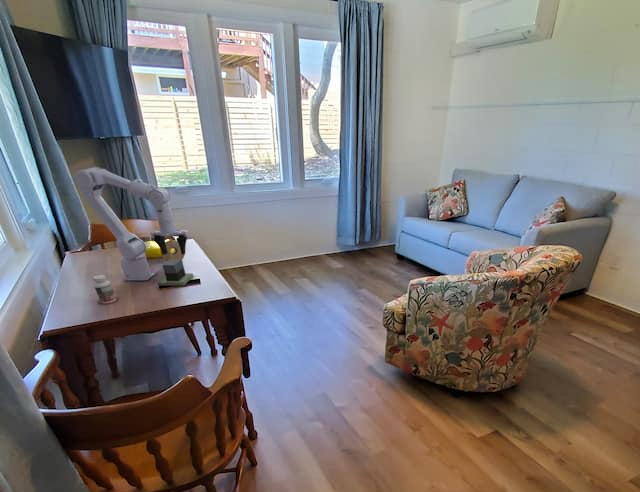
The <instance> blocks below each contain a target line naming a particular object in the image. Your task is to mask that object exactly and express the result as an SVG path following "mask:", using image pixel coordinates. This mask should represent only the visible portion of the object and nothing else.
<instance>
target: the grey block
mask: <svg viewBox="0 0 640 492" xmlns="http://www.w3.org/2000/svg"><path fill="white" fill-rule="evenodd" d="M183 267H184V262H183V259H170V260H169V261H166V262H165V263H163V264H162V269H163V272H164V274H165V273H177V272H178V271H180V270H181V269H182V268H183ZM184 268H185V267H184Z"/></svg>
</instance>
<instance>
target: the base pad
mask: <svg viewBox="0 0 640 492" xmlns="http://www.w3.org/2000/svg"><path fill="white" fill-rule="evenodd" d="M185 274H186V275H185V276H184V277H183V278H181V279H180V280H179V281H167V280H166V276H165V277H164V278H163V279H161V280H160V281H159V282H158V283H159V286H171V287H172V286H176V287H177V286H181V287H182V286H185V285H186V284H188V283H189V281H191V280H192V278H193V277H194V274H193V273H192V272H191V273H190V272H189V273H186V272H185Z"/></svg>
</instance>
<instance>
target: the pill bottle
mask: <svg viewBox="0 0 640 492" xmlns="http://www.w3.org/2000/svg"><path fill="white" fill-rule="evenodd" d="M92 278H93V282H94V283H93V287H94V290H95V292H96V295H97V297H98V299H99V302H100V303H101V304H111V303H113V302H115V301H117V297H116V294H115V291H114V288H113V285H112V284H111V281H110V280H108V278H107V276H106V275H105V274H99V275H95V276H94V277H92Z"/></svg>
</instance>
